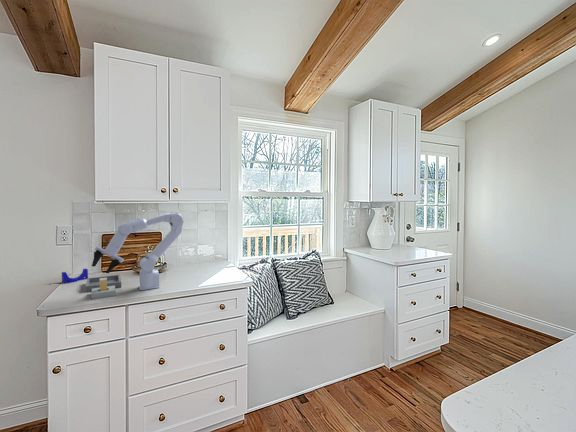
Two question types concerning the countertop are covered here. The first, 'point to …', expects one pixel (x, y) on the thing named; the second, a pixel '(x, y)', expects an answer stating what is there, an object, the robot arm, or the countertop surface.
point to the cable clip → (69, 280)
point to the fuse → (103, 284)
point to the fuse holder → (103, 292)
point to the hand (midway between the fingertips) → (100, 269)
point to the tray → (95, 282)
